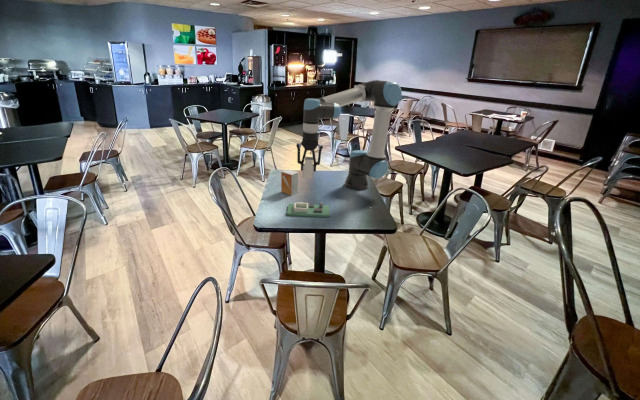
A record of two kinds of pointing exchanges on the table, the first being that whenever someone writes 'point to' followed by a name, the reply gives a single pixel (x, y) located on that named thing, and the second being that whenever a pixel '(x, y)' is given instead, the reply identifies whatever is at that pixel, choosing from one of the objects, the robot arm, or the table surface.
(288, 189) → the small box
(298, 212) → the board
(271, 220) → the table surface
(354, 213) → the table surface
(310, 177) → the plug
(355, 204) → the table surface
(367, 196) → the table surface
